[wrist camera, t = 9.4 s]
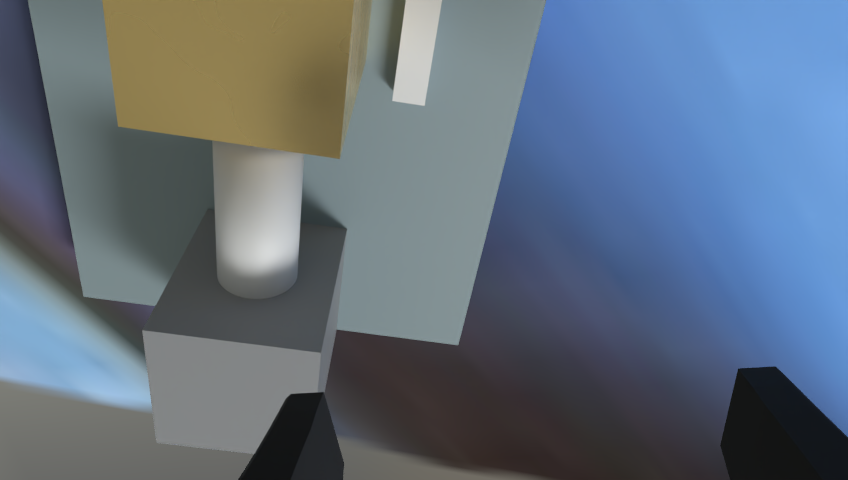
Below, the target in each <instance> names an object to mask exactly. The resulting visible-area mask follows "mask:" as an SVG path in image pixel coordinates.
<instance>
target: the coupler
mask: <svg viewBox="0 0 848 480" xmlns="http://www.w3.org/2000/svg"><path fill="white" fill-rule="evenodd" d="M102 3H103V11H104V19H105V27H106V35H107V43H108V51H109V59H110V67H111V75H112V83H113V90H114V98H115V106H116V114H117V122H118V127H124V128H131V129H138V130H145V131H152V132H159V133H165V134H172V135H179V136H186V137H193V138H200V139H206V140H213V141H220V142H227V143H234V144H241V145H247V146H254V147H261V148H268V149H275V150H281V151H288V152H295V153H302V154H309V155H316V156H322V157H329V158H336V159H340V156H341V152H342V149H343V145H344V141H345V137H346V134H347V130H348V126H349V122H350V119H351V115H352V111H353V107H354V104H355V100H356V96H357V92H358V89H359V85H360V81H361V77H362V74H363V70H364V66H365V62H366V55H367V45H368V36H369V26H370V17H371V7H372V0H102Z"/></svg>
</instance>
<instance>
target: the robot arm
mask: <svg viewBox="0 0 848 480" xmlns="http://www.w3.org/2000/svg"><path fill="white" fill-rule="evenodd" d="M720 446H721V449H722V453H723V456H724V460H725V463H726V467H727V470H728V474H729V477H730V480H848V437H847V436H846V435H845V434H844V433H843V432H842V431H841V430H840V429H839V428H838V427H837V426H836V425H835V424H834V423H833V422H832V421H831V420H829V419H828V418H827V417H826V416H825V415H824V414H823V413H822V412H821V411H820V410H819V409H818V408H817V407H816V406H815V405H814V404H813V403H812V402H811V401H810V400H809V399H808V398H807V397H806V396H805V395H804V394H803V393H802V392H801V391H800V390H799V389H798V388H797V387H796V386H795V385H794V384H793V383H792V382H791V381H790V380H789V379H788V378H787V377H786V376H785V375H784V374H783V373H782V372H781V371H780V370H779V369H778V368H776V367H759V368H741V369H738V372H737V376H736V380H735V385H734V389H733V393H732V398H731V402H730V406H729V411H728V415H727V419H726V423H725V428H724V432H723V436H722V441H721V445H720ZM343 469H344V462H343V458H342V455H341V451H340V448H339V444H338V441H337V437H336V434H335V430H334V427H333V423H332V420H331V416H330V413H329V409H328V406H327V402H326V399H325V395H324V392H315V393H297V394H290V395H289V396H288V397H287V398H286V399H285V401H284V403H283V405H282V407H281V408H280V410H279V412H278V414H277V416H276V417H275V419H274V421H273V423H272V425H271V426H270V428H269V430H268V432H267V433H266V435H265V437H264V438H263V440H262V442H261V444H260V445H259V447H258V449H257V450H256V452H255V454H254V455H253V457H252V459H251V460H250V462H249V464H248V465H247V467H246V468H245V470H244V472H243V473H242V475H241V476H240V478H239V479H238V480H343Z"/></svg>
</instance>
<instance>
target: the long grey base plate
mask: <svg viewBox="0 0 848 480" xmlns="http://www.w3.org/2000/svg"><path fill="white" fill-rule="evenodd" d="M545 3H546V0H372V7H371V17H370V26H369V36H368V45H367V55H366V62H365V66H364V70H363V74H362V77H361V81H360V85H359V89H358V92H357V96H356V100H355V104H354V107H353V111H352V115H351V119H350V122H349V126H348V130H347V134H346V137H345V141H344V145H343V149H342V152H341V156H340V159H336V158H329V157H322V156H316V155H309V154H302V153H295V152H288V151H281V150H275V149H268V148H261V147H254V146H247V145H241V144H234V143H227V142H220V141H213V140H206V139H200V138H193V137H186V136H179V135H172V134H165V133H159V132H152V131H145V130H138V129H131V128H124V127H118V122H117V114H116V106H115V98H114V90H113V83H112V75H111V67H110V59H109V51H108V43H107V35H106V27H105V19H104V11H103V3H102V0H28V4H29V9H30V15H31V20H32V25H33V31H34V36H35V41H36V46H37V52H38V57H39V62H40V68H41V73H42V78H43V84H44V89H45V94H46V99H47V105H48V110H49V115H50V121H51V126H52V131H53V137H54V142H55V147H56V152H57V158H58V163H59V168H60V174H61V179H62V184H63V190H64V195H65V200H66V205H67V211H68V216H69V221H70V227H71V232H72V237H73V243H74V248H75V253H76V258H77V264H78V269H79V274H80V280H81V285H82V290H83V296H84V297H90V298H98V299H106V300H114V301H121V302H129V303H137V304H144V305H152V306H155V308H154V310H153V311H152V313H151V315H150V317H149V319H148V321H147V323H146V324H145V326H144V328H143V330H142V331H143V339H144V347H145V355H146V363H147V371H148V379H149V387H150V395H151V403H152V411H153V418H154V426H155V433H156V441H157V443H164V444H173V445H181V446H190V447H199V448H208V449H216V450H225V451H233V452H242V453H251V454H255V452H256V450H257V449H258V447H259V445H260V444H261V442H262V440H263V438H264V437H265V435H266V433H267V432H268V430H269V428H270V426H271V425H272V423H273V421H274V419H275V417H276V416H277V414H278V412H279V410H280V408H281V407H282V405H283V403H284V401H285V399H286V398H287V397H288V396H289V395H290V394H297V393H315V392H325V387H326V382H327V376H328V371H329V366H330V361H331V355H332V350H333V345H334V340H335V335H336V329H338V330H345V331H353V332H361V333H369V334H376V335H384V336H392V337H399V338H407V339H415V340H423V341H430V342H438V343H446V344H454V345H458V344H459V340H460V336H461V332H462V328H463V324H464V320H465V316H466V312H467V308H468V304H469V301H470V297H471V293H472V289H473V285H474V281H475V277H476V273H477V269H478V265H479V261H480V257H481V254H482V250H483V246H484V242H485V238H486V234H487V230H488V226H489V222H490V218H491V214H492V210H493V207H494V203H495V199H496V195H497V191H498V187H499V183H500V179H501V175H502V171H503V167H504V163H505V160H506V156H507V152H508V148H509V144H510V140H511V136H512V132H513V128H514V124H515V120H516V116H517V113H518V109H519V105H520V101H521V97H522V93H523V89H524V85H525V81H526V77H527V73H528V69H529V66H530V62H531V58H532V54H533V50H534V46H535V42H536V38H537V34H538V30H539V26H540V22H541V19H542V15H543V11H544V7H545Z"/></svg>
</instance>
